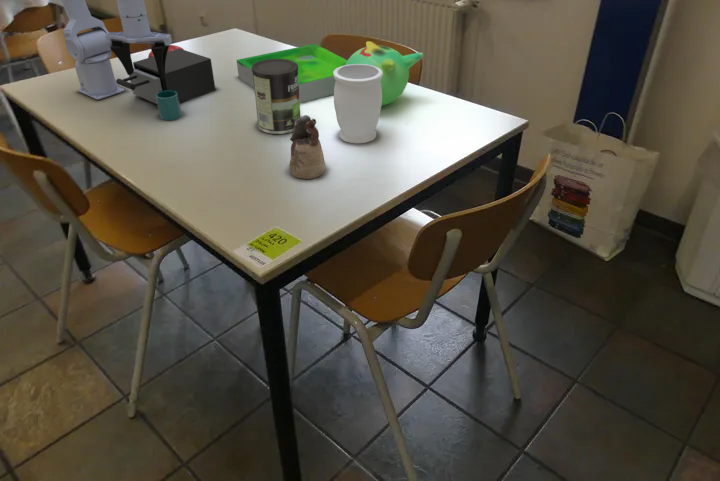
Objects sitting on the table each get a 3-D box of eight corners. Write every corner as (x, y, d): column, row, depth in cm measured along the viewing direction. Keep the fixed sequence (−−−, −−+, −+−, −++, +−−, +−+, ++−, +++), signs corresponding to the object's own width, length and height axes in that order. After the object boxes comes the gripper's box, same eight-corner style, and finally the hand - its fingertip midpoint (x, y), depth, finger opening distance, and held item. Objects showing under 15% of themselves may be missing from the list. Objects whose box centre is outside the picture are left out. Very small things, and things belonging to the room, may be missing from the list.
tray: (363, 86, 153) (363, 68, 150) (281, 107, 142) (279, 88, 139) (315, 60, 170) (314, 43, 167) (238, 77, 158) (236, 59, 155)
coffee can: (306, 117, 137) (303, 60, 129) (294, 136, 129) (290, 76, 121) (266, 114, 139) (260, 56, 130) (251, 132, 131) (244, 72, 122)
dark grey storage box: (170, 106, 142) (164, 74, 137) (140, 94, 148) (132, 62, 143) (215, 89, 151) (210, 58, 146) (185, 78, 157) (179, 48, 152)
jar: (346, 150, 124) (346, 83, 115) (327, 131, 131) (325, 67, 122) (389, 140, 128) (391, 75, 119) (367, 122, 135) (368, 60, 126)
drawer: (142, 112, 137) (136, 85, 133) (115, 100, 143) (108, 74, 139) (204, 89, 149) (199, 64, 145) (176, 79, 154) (171, 55, 150)
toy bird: (366, 85, 154) (367, 29, 146) (422, 97, 147) (426, 40, 139) (330, 107, 142) (328, 49, 133) (389, 123, 135) (391, 62, 126)
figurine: (309, 159, 120) (306, 105, 113) (332, 170, 116) (330, 116, 109) (283, 170, 116) (278, 116, 109) (306, 183, 112) (303, 127, 105)
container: (155, 116, 137) (150, 94, 134) (173, 109, 140) (168, 88, 137) (168, 122, 135) (164, 100, 131) (186, 115, 138) (182, 93, 135)
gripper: (93, 18, 123) (109, 79, 131) (158, 20, 122) (170, 81, 130) (107, 9, 129) (122, 68, 137) (170, 11, 128) (180, 70, 136)
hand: (146, 74), depth 134 cm, fingers open, 7 cm apart
